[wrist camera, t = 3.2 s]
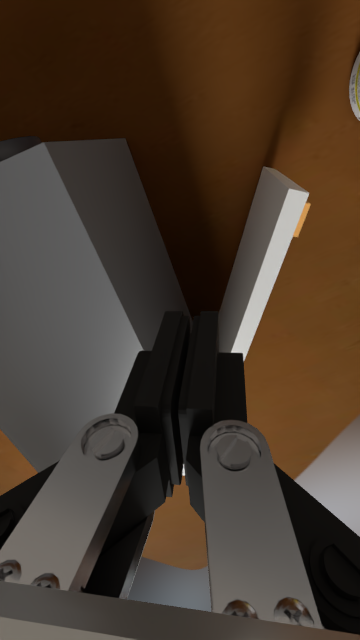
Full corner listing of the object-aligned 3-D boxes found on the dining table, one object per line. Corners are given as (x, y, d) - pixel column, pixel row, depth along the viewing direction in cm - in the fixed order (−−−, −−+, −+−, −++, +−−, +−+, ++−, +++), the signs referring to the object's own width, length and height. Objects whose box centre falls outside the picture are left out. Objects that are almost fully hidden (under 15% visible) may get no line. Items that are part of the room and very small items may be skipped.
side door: (223, 366, 29) (223, 456, 21) (203, 361, 29) (195, 450, 21) (290, 172, 20) (334, 198, 12) (262, 166, 20) (287, 188, 12)
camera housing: (209, 366, 30) (201, 488, 20) (100, 387, 33) (44, 500, 23) (117, 117, 20) (8, 102, 10) (-24, 180, 23) (-215, 217, 13)
